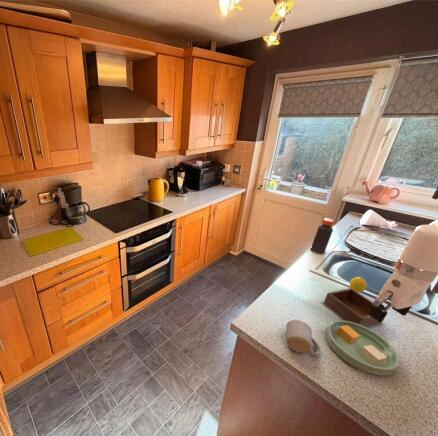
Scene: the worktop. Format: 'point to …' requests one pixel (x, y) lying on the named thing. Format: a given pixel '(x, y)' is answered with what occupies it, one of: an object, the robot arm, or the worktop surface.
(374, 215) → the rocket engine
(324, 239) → the bottle
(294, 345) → the ceramic mug
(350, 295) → the holder
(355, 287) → the lemon
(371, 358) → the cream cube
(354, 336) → the orange block
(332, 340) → the plate
